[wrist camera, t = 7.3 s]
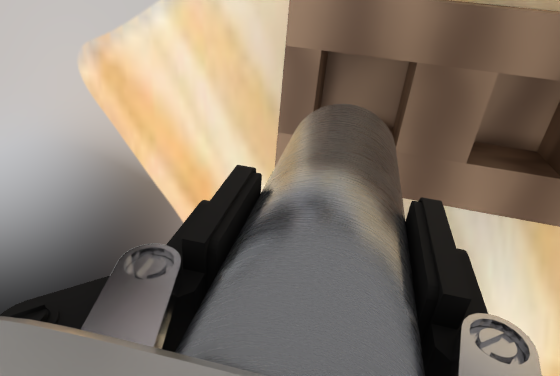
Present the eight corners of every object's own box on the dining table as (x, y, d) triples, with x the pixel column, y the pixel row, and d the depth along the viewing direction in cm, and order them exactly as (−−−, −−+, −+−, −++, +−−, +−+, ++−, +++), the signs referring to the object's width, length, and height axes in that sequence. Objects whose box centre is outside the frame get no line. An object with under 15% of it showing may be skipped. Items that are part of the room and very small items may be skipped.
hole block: (624, 18, 24) (692, 27, 19) (543, 187, 30) (578, 229, 24) (308, -14, 27) (290, -14, 22) (291, 144, 33) (274, 174, 28)
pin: (407, 112, 15) (564, 715, 3) (383, 209, 17) (405, 789, 5) (295, 96, 15) (-3, 518, 3) (285, 191, 17) (82, 661, 5)
